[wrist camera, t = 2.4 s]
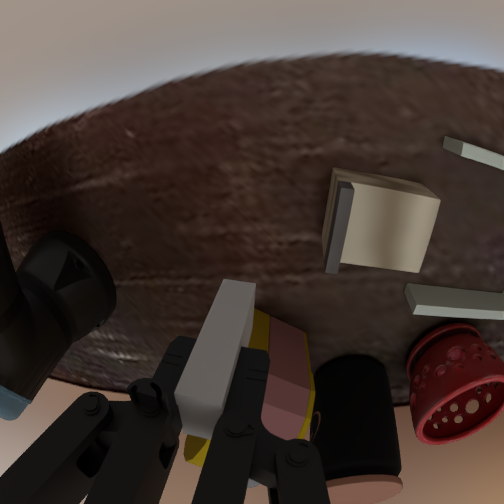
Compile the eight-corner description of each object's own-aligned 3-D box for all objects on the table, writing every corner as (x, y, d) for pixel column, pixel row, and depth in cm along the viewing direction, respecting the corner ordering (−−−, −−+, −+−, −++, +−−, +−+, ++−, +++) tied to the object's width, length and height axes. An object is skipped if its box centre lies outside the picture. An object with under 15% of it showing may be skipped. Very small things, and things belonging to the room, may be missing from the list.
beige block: (321, 235, 30) (325, 272, 24) (332, 166, 27) (341, 187, 21) (404, 247, 29) (424, 285, 23) (420, 183, 26) (450, 208, 20)
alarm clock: (261, 388, 42) (239, 502, 26) (210, 366, 42) (171, 480, 26) (319, 325, 35) (316, 471, 19) (257, 295, 35) (220, 443, 19)
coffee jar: (304, 360, 38) (294, 488, 23) (384, 345, 35) (406, 473, 20) (319, 404, 43) (314, 511, 27) (387, 391, 40) (400, 499, 24)
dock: (404, 291, 32) (413, 314, 28) (444, 135, 23) (463, 142, 20) (504, 301, 30) (516, 320, 26) (548, 174, 21) (568, 185, 18)
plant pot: (483, 357, 34) (508, 418, 24) (406, 388, 39) (419, 455, 29) (482, 294, 30) (523, 362, 19) (390, 333, 34) (409, 412, 24)
